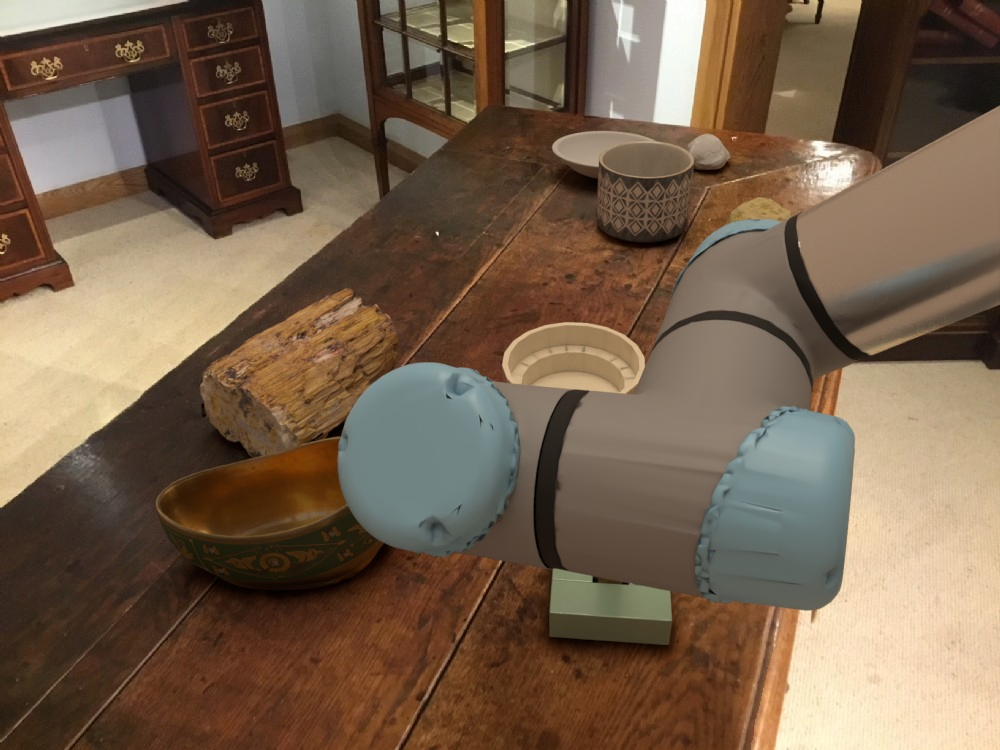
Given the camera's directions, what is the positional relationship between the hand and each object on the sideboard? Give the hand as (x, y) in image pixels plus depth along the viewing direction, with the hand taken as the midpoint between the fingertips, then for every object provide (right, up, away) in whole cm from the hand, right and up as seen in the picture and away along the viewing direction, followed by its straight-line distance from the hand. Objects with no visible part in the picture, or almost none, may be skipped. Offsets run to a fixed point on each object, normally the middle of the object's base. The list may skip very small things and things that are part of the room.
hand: (623, 500), depth 66 cm
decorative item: (+25, +25, +47) cm, 59 cm away
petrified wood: (-29, +6, +25) cm, 39 cm away
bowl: (-2, +6, +23) cm, 24 cm away
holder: (-1, -8, +4) cm, 9 cm away
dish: (+7, +41, +69) cm, 81 cm away
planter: (+11, +30, +55) cm, 64 cm away
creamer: (-26, -6, +8) cm, 28 cm away
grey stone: (+24, +44, +72) cm, 88 cm away
